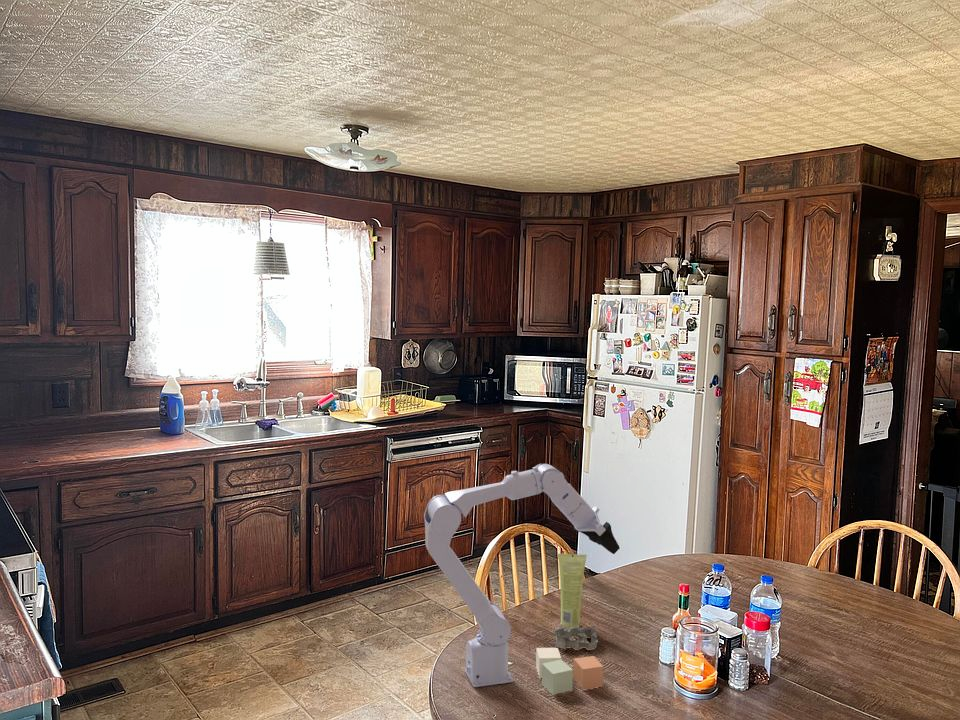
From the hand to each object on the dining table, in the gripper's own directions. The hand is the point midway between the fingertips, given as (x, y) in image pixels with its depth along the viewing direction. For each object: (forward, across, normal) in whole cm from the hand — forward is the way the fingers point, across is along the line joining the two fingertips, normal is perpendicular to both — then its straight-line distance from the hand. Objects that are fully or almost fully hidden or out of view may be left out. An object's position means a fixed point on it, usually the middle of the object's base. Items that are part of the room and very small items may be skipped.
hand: (609, 546), depth 169 cm
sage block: (+11, -6, +31) cm, 33 cm away
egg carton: (+19, +13, +22) cm, 32 cm away
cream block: (+11, 0, +30) cm, 32 cm away
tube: (+21, +23, +19) cm, 36 cm away
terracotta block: (+16, -6, +25) cm, 31 cm away
